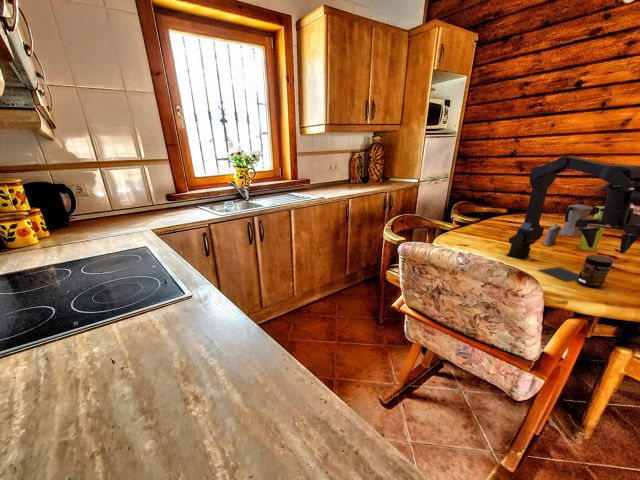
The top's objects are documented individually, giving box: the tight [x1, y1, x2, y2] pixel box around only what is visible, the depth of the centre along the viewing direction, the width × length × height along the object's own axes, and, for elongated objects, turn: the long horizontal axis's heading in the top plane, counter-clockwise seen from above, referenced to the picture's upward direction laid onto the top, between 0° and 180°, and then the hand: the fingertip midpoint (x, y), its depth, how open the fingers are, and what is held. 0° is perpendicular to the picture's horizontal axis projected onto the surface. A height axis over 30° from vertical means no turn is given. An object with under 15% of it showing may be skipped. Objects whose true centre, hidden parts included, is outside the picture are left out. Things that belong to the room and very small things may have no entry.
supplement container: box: [576, 254, 615, 289], centre depth 100 cm, size 7×7×10 cm
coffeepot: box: [558, 200, 594, 238], centre depth 147 cm, size 15×9×18 cm, turn 103°
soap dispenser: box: [577, 205, 605, 252], centre depth 128 cm, size 6×7×20 cm
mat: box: [538, 267, 579, 282], centre depth 110 cm, size 10×10×1 cm
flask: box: [542, 222, 562, 247], centre depth 137 cm, size 9×3×11 cm, turn 121°
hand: (605, 250), depth 97 cm, fingers open, 9 cm apart
